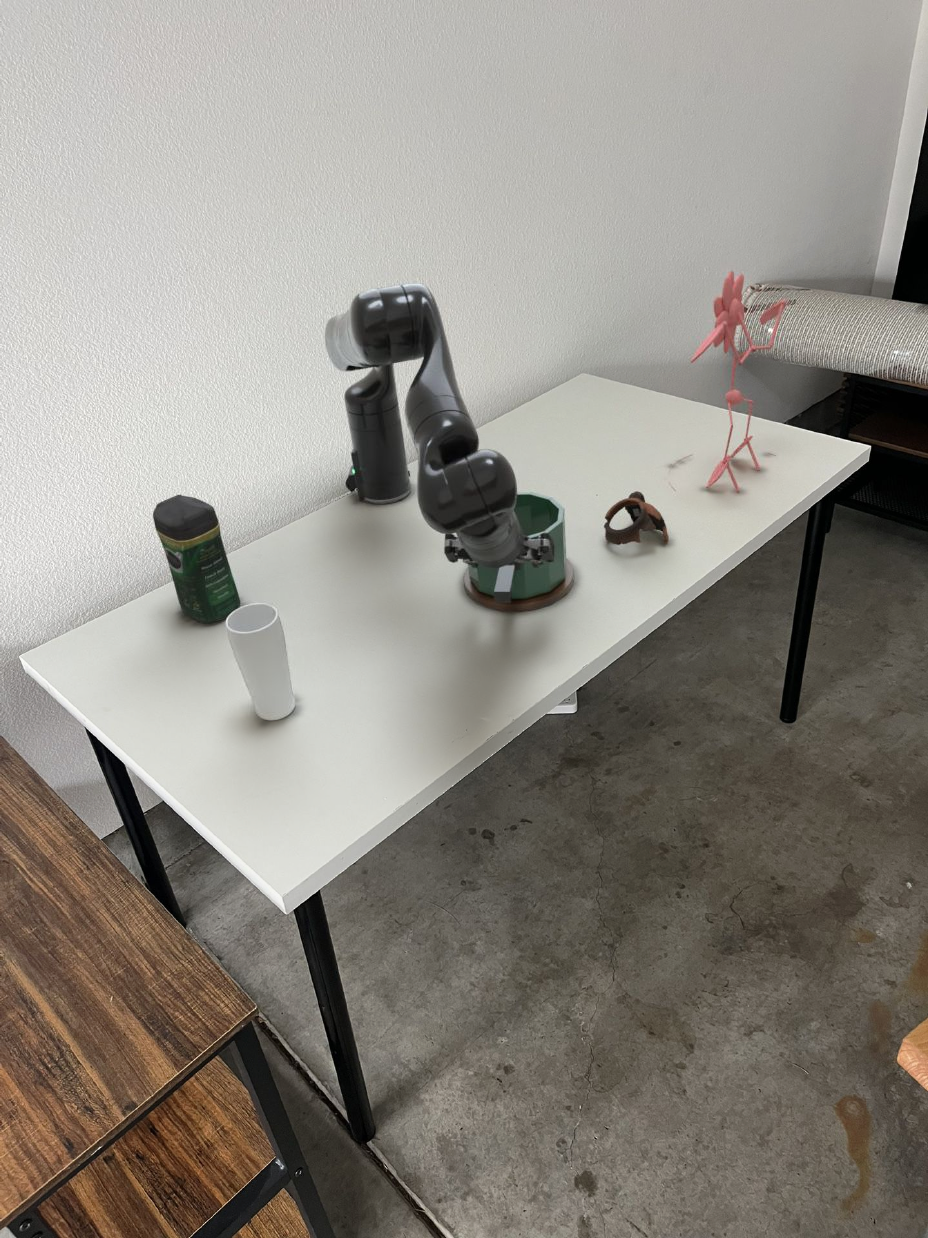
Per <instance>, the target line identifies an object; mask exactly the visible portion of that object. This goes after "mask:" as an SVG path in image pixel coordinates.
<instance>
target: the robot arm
mask: <svg viewBox="0 0 928 1238" xmlns="http://www.w3.org/2000/svg"><path fill="white" fill-rule="evenodd" d="M437 303H438V302H437V300H436V298H435V296H434V294H433V293H432V291H431V290H430V288H428V287H427V286H426V285H425V284H424V283H418V282H412V283H403V284H396V285H390V286H384V287H378V288H377V287H376V288H371V289H367V290H364V291H361V292H359V293H357V294H356V295H355V296H354V297H353V298H352V300H351V302H350V306H349V308H348V309H347V310H346V311H345V313H343V314H338V315H334V316H332V317H330V318H329V320H328V321H327V323H326V325H325V330H324V344H325V349H326V353H327V356H328V358H329V360H330V362H331V363H332V365H333V366H334V368H336V369H337V370H338V371H341V372H344V373H345V372H348V373H349V372H354V371H360V370H366V369H370V368H371V370H370V371H369V372H368V373H367V374H366V375H365V376H364V377H362V378H361V379H360V380H358V381H356V382H355V383H353V384H351V385H350V386H349V387H348V388H346V390H345V391H344V396H343V399H344V406H345V410H346V411H345V412H346V417H347V420H348V421H347V422H348V426H349V427H348V428H349V433H350V439H351V445H352V449H351V452H350V457H351V463H352V465H351V466H350V469H349V472H348V476H347V478H346V479H345V487H346V488H347V490H348V491H349V492H350V493H353V492H355V491H356V490H357V496H358V501H359V502H366V503H369V504H370V503H371V504H375V505H385V504H390V503H395V502H398V501H401V500H403V499H405V498H406V497H408V496H409V494H410V493H411V492H412V485H411V481H410V478H411V472H410V470H409V468H408V467H409V466H408V460H407V453H406V446H405V440H404V433H403V432H404V431H403V426H402V419H401V412H400V404H399V398H398V397H399V396H398V390H397V382H396V375H395V374H396V373H395V365H394V364H398V363H405V362H409V361H416V360H421V359H422V361H421V364H420V367H419V368H418V370H417V372H416V374H415V376H414V378H413V380H412V382H411V384H410V386H409V388H408V390H407V394H406V397H405V401H404V419H405V422H406V426H407V428H408V431H409V434H410V437H411V439H412V443H413V445H414V447H415V450H416V454H417V476H416V477H417V478H416V495H417V497H416V498H417V501H418V502H417V503H418V506H419V510H420V513H421V516H422V517H423V520H424V521H425V523H426V524H427V525H428V526H429V527H430V528H431V529H432V530H434V531H435V532H437V533H440V534H442V535H443V534H444V546H443V547H444V549H443V550H444V551H443V554H444V555H445V558H446V559H447V561H448V562H450V563H453V564H455V563H458V561H459V560H462V563H464V564H466V565H468V564H469V565H471V566H472V567H473V568H478V564H479V565H481V566H483V567H487V568H500V567H503V566H506V565H508V564H510V563H511V562H512V561H515V562H518V563H527V562H531V563H532V565H533V567H534V568H539V565H543V564H544V560H545V561H546V562H554V551H555V543H554V541H553V539H552V538H551V536H550V534H548V533H542V534H540V536H538V539H531V538H530V537H528V536H526V535H524V534H523V531H522V528H521V526H520V523H519V521H518V519H517V516H516V514H515V512H514V508H515V505H516V501H517V492H518V484H517V483H518V482H517V479H516V475H515V472H514V469H513V467H512V465H511V463H510V462H509V460H508V459H507V458H506V457H505V456H504V455H503V454H502V453H501V452H498V451H497V450H496V449H495V450H494V449H490V448H481V449H480V448H479V446H480V438H479V434H478V431H477V429H476V426H475V424H474V422H473V419H472V417H471V415H470V413H469V410H468V408H467V406H466V404H465V402H464V399H463V396H462V394H461V391H460V387H459V384H458V380H457V376H456V371H455V368H454V367H455V366H454V363H453V362H454V361H453V359H452V354H451V350H450V346H449V341H448V339H447V335H446V331H445V327H444V323H443V319H442V315H441V312H440V310H439V309H440V308H439V306H438V304H437ZM455 534H456V535H457V536H455ZM531 548H532V555H531ZM518 555H521V556H518Z"/></svg>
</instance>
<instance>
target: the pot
mask: <svg viewBox="0 0 928 1238" xmlns="http://www.w3.org/2000/svg"><path fill="white" fill-rule="evenodd" d="M514 512H515V514H516V516H517V519H518V521H519V523H520V526H521V528H522V531H523V534H524V535H526V536H528V537H530V538H531V539H538V536H540V534H542V533H548V534H550V536H551V538H552V539H553V541H554V543H555V551H554V562H546V561H545V560H544V564H543V565H539V568H534V567H533V565H532V563H531V562H527V563H518V562H515V561H512V562H511V563H510V564H508V565H506V566H503V567H500V568H487V567H483V566H481V565H479V564H478V568H473V567H472V566H471V565H469V564H467V568H469V577H470V580H471V581H472V582H473V584H474V585H475V586H476V588H477V589H478V590H479V591H480V592H483V593H486V594H489V595H491V596H494V600H495V603H511V599H527V598H531V597H534V596H537V595H540V594H544V593H547V592H550V591H551V590H553V589H554V588H555V587H556V586H557V585H558V584H560V583H561V582H562V581H563V580H564V579H565V574H566V565H567V564H566V558H567V542H566V519H565V518H566V516H565V515H566V513H565V508H564V506H562V505H561V504H560V503H559V502H558V501H557V500H556V499H554V497H551V496H548V495H544V494H540V493H537V492H534V491H533V492H532V491H526V492H525V491H519V492H518V491H517V501H516V505H515V508H514ZM531 555H532V548H531ZM518 556H521V555H518Z"/></svg>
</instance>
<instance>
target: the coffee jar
mask: <svg viewBox="0 0 928 1238" xmlns="http://www.w3.org/2000/svg"><path fill="white" fill-rule="evenodd" d="M152 518H153V524H154V528H155V531H156V533H157V536H158V538H159V540H160V543H161V546H162V548H163V550H164V553H165V557H166V561H167V564H168V567H169V572H170V576H171V578H172V582H173V585H174V589H175V594H176V596H177V600H178V604H179V606H180V609H181V611H183V612H184V614H186V615H187V616H188V617H190V618H191V619H193V620H196V621H197V622H200V623H202V624H210V623H214V622H218V621H222V620H226V619H227V617H228V616H229V615H230V614H231V613H232V612H233V611H235V610H236V609H238V608H240V607H241V604H242V603H241V598H240V595H239V591H238V588H237V585H236V582H235V579H234V576H233V572H232V569H231V566H230V563H229V559H228V556H227V553H226V549H225V547H224V543H223V538H222V534H221V533H222V532H221V526H220V525H221V524H220V521H219V518H218V516H217V513H216V510H215V508H214V506H212V505H211V504H209V503H207V502H205V501H204V500H201V499H199V498H196V497H192V496H188V495H182V494H176V495H174V496H172V497H169V498H167V499H165V500H163V501H160V502H158V503H157V504H156V505H155V508H154V510H153V512H152Z"/></svg>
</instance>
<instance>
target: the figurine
mask: <svg viewBox="0 0 928 1238" xmlns="http://www.w3.org/2000/svg"><path fill="white" fill-rule="evenodd" d="M744 282H745V275H744V274H742V273H740V274H739V275H737V277H736V278H735V273H734V271H733V270H730V271H729V272H728V274H727V277H725V278H724V282H723V285H722V290H721V291H722V293H721V296H715V298H714V300H713V313H714V317H715V320H714V329H713V330H712V331H711V332H710V333H709V334H708V335H707V337H705V339H704V340H703V341H702V343H701V344H700V345H699V347H698V348H697V350H696V351H695V353H694V354H693V356H692V357H691V359H690V363H691V364H692V363H694V362H695V361H696V360H697V359H699V358H700V357H701V356H702V355H703V354H704V353H705V352H706V351H707V350H708V349H709V348H710V347H711V346H712V344H713V347H714V348H718V347H719V346H720V345H721V344H723V347H722V348H723V352H724V353H725V354H727V353H728V352H729V351H730V348H731V349H732V352H733V354H734V356H733V357H734V358H733V359H732V367H731V368H732V369H731V381H730V389H729V391H728V392H726V394H725V398H724V399H725V402H726V404H727V405H728V406H727V407H728V415H729V422H730V430H729V432H728V433H729V434H728V438H727V442H726V448H725V452H724V456H723V458H722V459H721V460H720V462H718V464H717V465H716V466H715V468H714V470H713V471H712V473H711V475H710V477H709V479H708V481H707V484H706V485H705V488H706V489H709V488H710V487H712V485H714V484H715V483H716V482H717V481H719V480H720V478H721V477H722V475H723V474H724V473H725V471H726V470H727V471H728V475H729V477H730V479H731V481H732V484H733V486H734V488H735V491H736V492H739V491H740V488H739V485H738V482H737V480H736V478H735V476H734V473H733V471H732V468H731V466H730V462H731V459H733V458H734V457H735V456H736V455H737V454H738V453H740V452H741V451H742V449H744V447H745V446H746V447H747V448H748V451H749V453H750V456H751V458H752V461H753V464H754V466H755V468H756V471H759V470H761V468H760V465H759V463H758V459H757V457H756V455H755V452H754V450H753V447H752V445H751V442H750V441H751V440H752V439H753V435H750V436H748V434H749V430H750V423H751V417H752V411H753V406H754V401H753V400H752V399H748V398H743V396H742V392H741V391H740V390H738V389H734V384H735V377H736V367H737V364H738V366H739V367H741V366H742V364H743V363H744V362H745V361H746V359H747V358H748V356H749V355H750V354H751V353H756V351H762V350H772V347H773V344H774V341H775V337H776V334H777V331H778V328H779V324H780V321H781V318H782V314H783V311H784V310H785V308H786V306H787V301H786V300H785V299H781V300H780V301H779V302H777V303H774V304H773V305H772V306H770V307H769V308H768V309H766V310H765V311H764V312H763V313H761V316H760V318H759V323H760V325H761V326H763V325H764V324H767V323H768V322H770V321H771V320H773V319H774V318H776V319H775V323H774V326H773V330H772V333H771V337H770V340H769V344H768V345H763V346H762V345H761V346H756V345H754V343H753V340H752V338H751V335H750V334H749V331H748V327H747V326H746V323H745V307H744V304H743V302H742V301H743V294H742V293H743V288H744ZM737 326H741V328H742V330H743V333H744V335H745V337H746V340H747V343H748V345H749V348H748V350H746V351H744V352H742V353H739V352H738V350H737V348H736V345H735V342H734V339H735V334H736V329H737V328H736V327H737ZM742 401H744V402H748V403H750V404H749V411H748V417H747V422H746V423H747V424H746V431H745V436H744V438H743V441H742V443H740V444H739V446H738V447H737V448H736V449H735V450H734V451H733V452H732V453H731V454H730V455H728V451H729V446H730V442H731V438H732V433H733V430H734V423H733V414H732V407H736V406H738V405H740V403H741V402H742ZM767 454H768V455H772V456H774V457H777V455H776V454H773V453H770V452H767ZM693 455H694V454H689V455H687V456H685V457H683V458H681V459H679V460H678V461H676V462H675V463H674V464H672V463H671V464H670V465H669V467H668V468H670V469H669V471H668V473H670V472H671V469H672V468H674V466H675V465H677V464H678V463H679V462H681V461H682V460H684V459H686V458H689V457H692V456H693ZM670 466H671V467H670ZM665 481H666V478H665ZM668 484H669V486H671V488H672V489H673V491H675V492H676V491H677V490H676V489H675V488H674V487H673V486H672V485H671V483H670V482H668Z"/></svg>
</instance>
